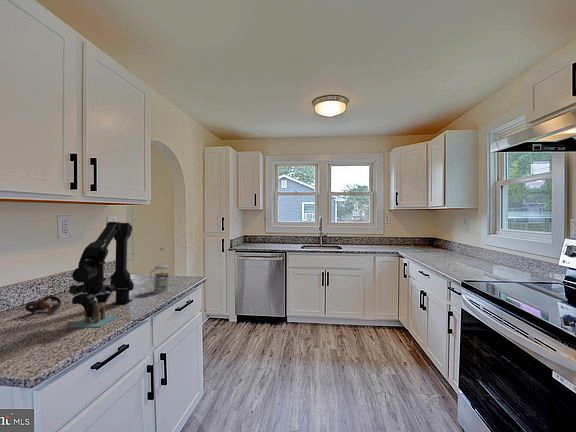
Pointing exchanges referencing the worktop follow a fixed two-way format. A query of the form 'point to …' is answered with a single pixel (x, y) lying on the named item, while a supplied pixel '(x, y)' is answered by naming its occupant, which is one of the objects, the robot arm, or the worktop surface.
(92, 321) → the mat
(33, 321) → the worktop surface
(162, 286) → the french press
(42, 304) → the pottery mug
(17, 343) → the worktop surface
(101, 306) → the brown u-shaped block
